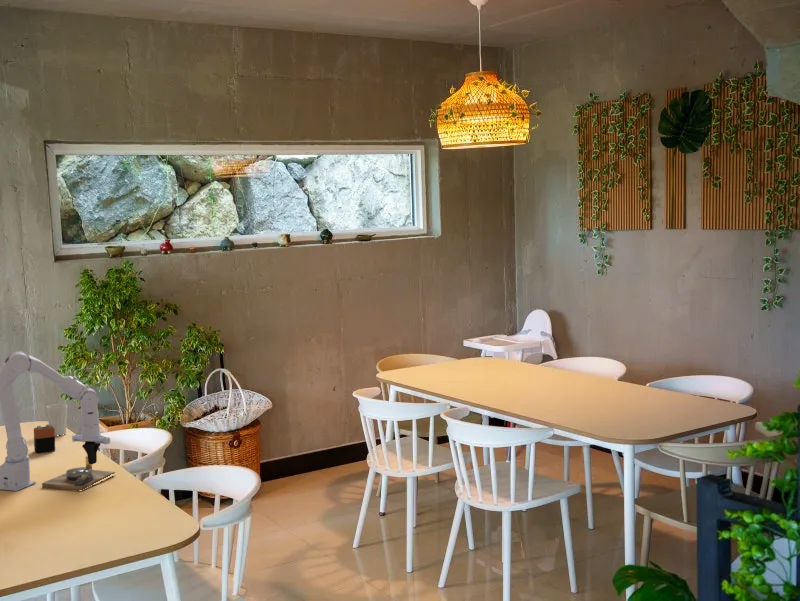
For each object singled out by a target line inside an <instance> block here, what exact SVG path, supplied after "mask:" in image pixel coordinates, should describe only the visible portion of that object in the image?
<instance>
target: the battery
mask: <svg viewBox="0 0 800 601" xmlns="http://www.w3.org/2000/svg"><path fill="white" fill-rule="evenodd" d="M33 442H34V443H33V445H34V446H33V447H34V448H33V449H34V452H35V453H36V454H42V453H50V452H51V453H52V452H55V451H56V437H55V429H54V427H52V426H51V424H49V423H48V424H45V426H41V425H37V426H36V427H33Z"/></svg>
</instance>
